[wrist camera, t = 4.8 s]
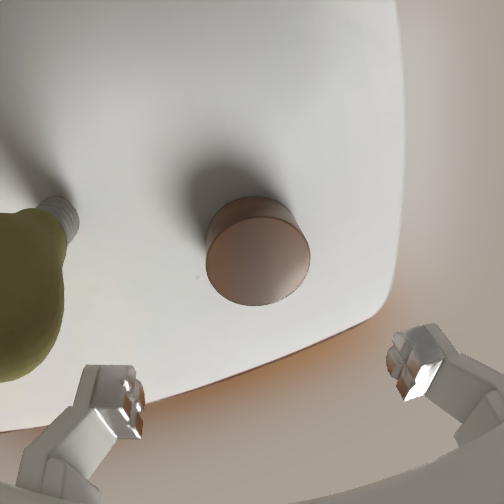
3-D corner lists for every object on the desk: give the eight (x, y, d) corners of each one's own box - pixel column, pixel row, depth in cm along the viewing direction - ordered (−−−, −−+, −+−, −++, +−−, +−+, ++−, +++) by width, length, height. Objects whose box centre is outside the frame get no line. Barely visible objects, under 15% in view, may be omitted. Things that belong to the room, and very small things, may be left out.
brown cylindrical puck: (299, 192, 15) (313, 212, 13) (296, 273, 17) (307, 301, 15) (201, 199, 15) (199, 221, 13) (211, 281, 17) (211, 310, 15)
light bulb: (23, 151, 12) (-125, 252, 3) (121, 171, 13) (5, 314, 5) (21, 247, 15) (-73, 379, 6) (107, 270, 16) (45, 436, 7)
